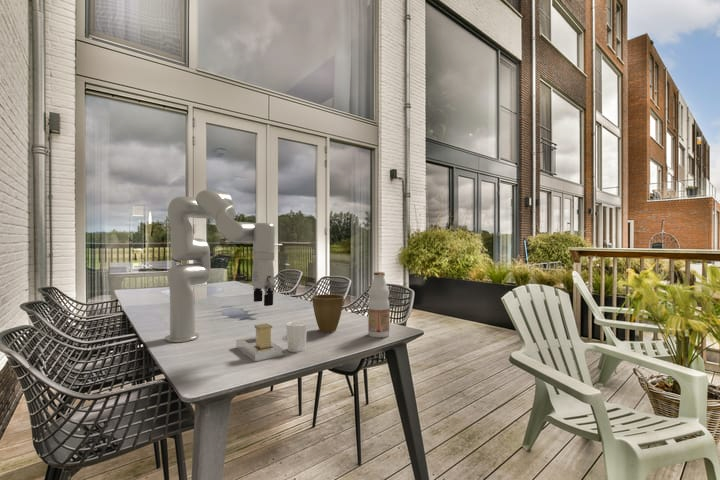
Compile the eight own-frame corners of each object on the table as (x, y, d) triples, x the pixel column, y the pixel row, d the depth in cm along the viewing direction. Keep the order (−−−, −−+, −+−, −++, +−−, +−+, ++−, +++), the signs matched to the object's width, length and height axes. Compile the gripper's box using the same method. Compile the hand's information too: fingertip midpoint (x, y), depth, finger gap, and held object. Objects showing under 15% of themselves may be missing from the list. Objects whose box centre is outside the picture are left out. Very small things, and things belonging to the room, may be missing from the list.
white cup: (289, 353, 134) (289, 326, 134) (283, 348, 141) (283, 322, 141) (309, 350, 137) (309, 324, 137) (303, 345, 144) (303, 320, 144)
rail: (236, 347, 141) (236, 339, 141) (260, 343, 147) (260, 335, 147) (255, 361, 125) (255, 352, 125) (281, 356, 131) (282, 347, 131)
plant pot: (343, 335, 160) (343, 299, 160) (309, 334, 160) (309, 298, 160) (344, 326, 175) (345, 293, 175) (314, 326, 175) (314, 293, 175)
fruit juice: (366, 337, 157) (367, 272, 157) (370, 331, 166) (370, 271, 166) (388, 338, 155) (388, 273, 155) (390, 333, 164) (390, 271, 164)
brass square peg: (254, 354, 132) (254, 325, 132) (266, 352, 135) (266, 323, 135) (259, 358, 129) (259, 327, 129) (272, 355, 132) (272, 326, 132)
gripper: (245, 255, 136) (244, 300, 137) (263, 258, 123) (262, 308, 123) (264, 255, 141) (263, 299, 141) (283, 257, 127) (282, 306, 127)
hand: (263, 303), depth 132 cm, fingers open, 9 cm apart
